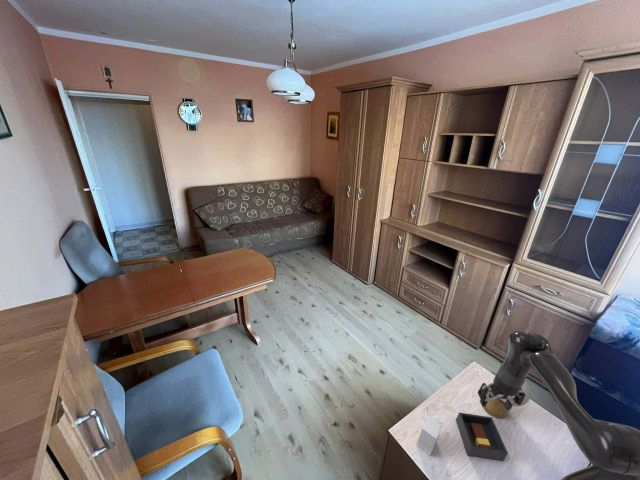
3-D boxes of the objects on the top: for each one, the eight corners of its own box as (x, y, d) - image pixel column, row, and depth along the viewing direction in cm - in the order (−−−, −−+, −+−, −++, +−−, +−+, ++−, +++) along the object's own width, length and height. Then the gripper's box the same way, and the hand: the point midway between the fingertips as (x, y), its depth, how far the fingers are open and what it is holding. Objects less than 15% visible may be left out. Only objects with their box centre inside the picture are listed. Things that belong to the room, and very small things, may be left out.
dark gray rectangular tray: (503, 461, 111) (508, 453, 108) (467, 455, 112) (471, 447, 110) (487, 424, 124) (491, 417, 121) (455, 420, 125) (459, 412, 123)
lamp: (522, 423, 125) (544, 389, 114) (498, 430, 122) (518, 396, 111) (495, 393, 138) (513, 360, 127) (473, 399, 135) (489, 365, 124)
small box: (421, 430, 120) (428, 413, 115) (436, 440, 117) (443, 423, 111) (415, 445, 115) (421, 428, 109) (430, 457, 111) (437, 439, 105)
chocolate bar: (489, 452, 113) (491, 448, 111) (478, 451, 113) (480, 447, 112) (479, 428, 122) (481, 424, 120) (469, 426, 122) (471, 422, 121)
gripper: (493, 384, 89) (478, 413, 96) (538, 390, 88) (519, 419, 95) (484, 365, 96) (470, 394, 103) (525, 371, 95) (509, 399, 102)
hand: (494, 406), depth 99 cm, fingers open, 8 cm apart
